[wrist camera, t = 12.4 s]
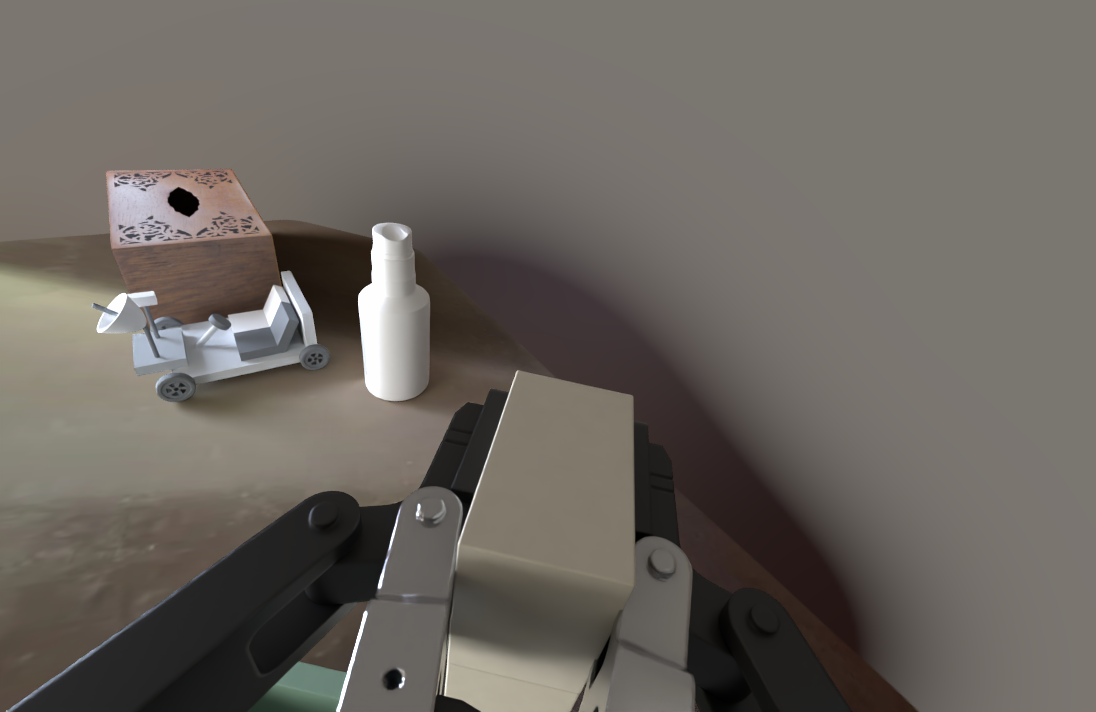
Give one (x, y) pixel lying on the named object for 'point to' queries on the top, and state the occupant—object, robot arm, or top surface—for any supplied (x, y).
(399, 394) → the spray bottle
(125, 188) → the tissue box cover
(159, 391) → the toy car
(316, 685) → the bin
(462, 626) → the clip
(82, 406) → the top surface
